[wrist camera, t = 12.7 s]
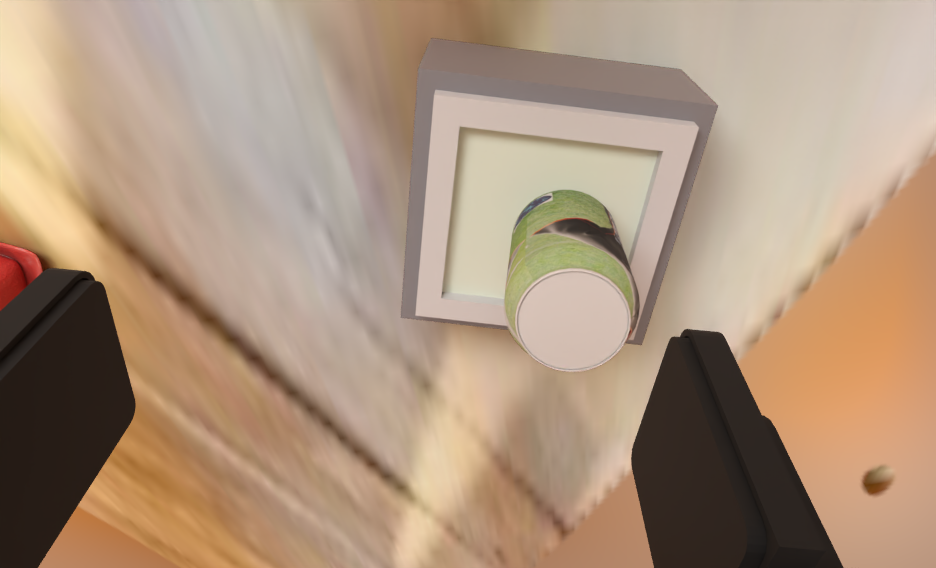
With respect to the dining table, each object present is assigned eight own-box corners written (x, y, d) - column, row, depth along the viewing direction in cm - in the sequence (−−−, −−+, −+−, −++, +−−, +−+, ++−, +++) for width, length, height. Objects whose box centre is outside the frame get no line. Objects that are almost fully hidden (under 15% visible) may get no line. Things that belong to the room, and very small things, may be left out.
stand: (431, 38, 40) (416, 72, 33) (681, 69, 41) (723, 111, 33) (413, 257, 49) (398, 326, 41) (621, 282, 49) (644, 354, 42)
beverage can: (545, 291, 40) (561, 426, 30) (478, 201, 37) (471, 318, 27) (635, 241, 38) (686, 369, 28) (572, 142, 35) (604, 245, 25)
